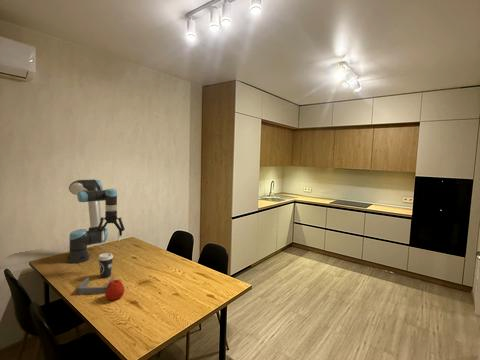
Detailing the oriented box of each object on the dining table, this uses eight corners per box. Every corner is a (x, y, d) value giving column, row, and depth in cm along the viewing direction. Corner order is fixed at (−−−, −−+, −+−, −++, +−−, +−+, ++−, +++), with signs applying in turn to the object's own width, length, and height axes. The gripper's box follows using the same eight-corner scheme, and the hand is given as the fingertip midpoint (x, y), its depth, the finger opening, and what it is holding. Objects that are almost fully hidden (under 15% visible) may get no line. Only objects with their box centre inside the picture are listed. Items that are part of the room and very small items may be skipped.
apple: (111, 304, 147) (111, 286, 146) (101, 298, 152) (101, 281, 152) (127, 296, 156) (127, 279, 155) (117, 291, 161) (117, 275, 160)
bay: (87, 282, 170) (86, 277, 170) (113, 282, 172) (113, 277, 172) (76, 294, 156) (76, 288, 156) (105, 293, 158) (105, 287, 158)
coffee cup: (106, 280, 175) (106, 258, 174) (94, 278, 177) (94, 256, 176) (116, 274, 184) (116, 253, 183) (104, 272, 186) (104, 251, 185)
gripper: (91, 211, 182) (91, 241, 184) (126, 211, 186) (126, 241, 188) (96, 209, 190) (96, 238, 192) (129, 209, 193) (129, 238, 195)
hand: (111, 240), depth 190 cm, fingers open, 11 cm apart
